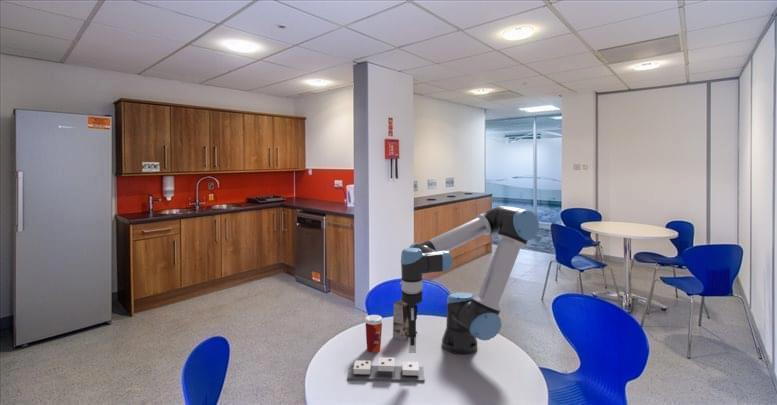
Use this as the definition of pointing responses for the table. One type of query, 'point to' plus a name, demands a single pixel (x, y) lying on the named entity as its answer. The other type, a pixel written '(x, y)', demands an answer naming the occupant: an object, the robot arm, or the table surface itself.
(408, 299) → the robot arm
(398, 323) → the coffee box
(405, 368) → the tile
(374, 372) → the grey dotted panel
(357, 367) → the tile
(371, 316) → the paper cup
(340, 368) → the table surface
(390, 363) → the tile
